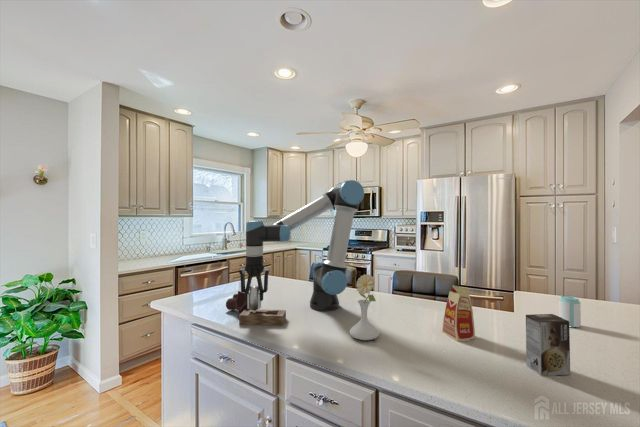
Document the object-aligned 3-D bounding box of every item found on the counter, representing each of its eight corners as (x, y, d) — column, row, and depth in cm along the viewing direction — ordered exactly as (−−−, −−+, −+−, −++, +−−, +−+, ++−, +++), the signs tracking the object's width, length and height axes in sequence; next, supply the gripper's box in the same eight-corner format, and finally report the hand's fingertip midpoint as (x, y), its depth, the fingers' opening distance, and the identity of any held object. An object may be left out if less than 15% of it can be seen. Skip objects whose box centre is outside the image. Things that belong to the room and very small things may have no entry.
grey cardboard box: (553, 364, 92) (552, 313, 93) (571, 375, 86) (570, 320, 86) (524, 365, 92) (524, 313, 92) (541, 376, 86) (540, 321, 86)
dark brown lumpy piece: (245, 311, 132) (250, 289, 137) (222, 313, 141) (228, 292, 146) (255, 314, 136) (259, 292, 141) (233, 315, 146) (237, 295, 150)
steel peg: (259, 316, 132) (260, 285, 132) (257, 319, 128) (257, 287, 128) (251, 316, 132) (251, 285, 132) (248, 319, 128) (248, 287, 128)
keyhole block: (285, 318, 133) (285, 309, 133) (282, 325, 125) (282, 316, 125) (244, 318, 134) (244, 309, 134) (239, 324, 126) (239, 315, 126)
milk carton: (457, 341, 109) (457, 288, 109) (441, 332, 118) (441, 282, 118) (477, 338, 112) (477, 286, 112) (459, 329, 120) (459, 281, 121)
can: (557, 321, 130) (557, 294, 130) (578, 324, 126) (578, 296, 127) (560, 326, 124) (560, 298, 124) (582, 329, 120) (582, 300, 120)
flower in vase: (344, 333, 117) (344, 270, 117) (369, 329, 121) (369, 269, 121) (360, 347, 104) (360, 277, 105) (387, 342, 108) (387, 275, 109)
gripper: (275, 254, 133) (274, 305, 133) (238, 254, 134) (238, 305, 134) (271, 256, 126) (271, 311, 126) (232, 256, 127) (232, 310, 127)
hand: (254, 307), depth 130 cm, fingers closed on steel peg, 4 cm apart
